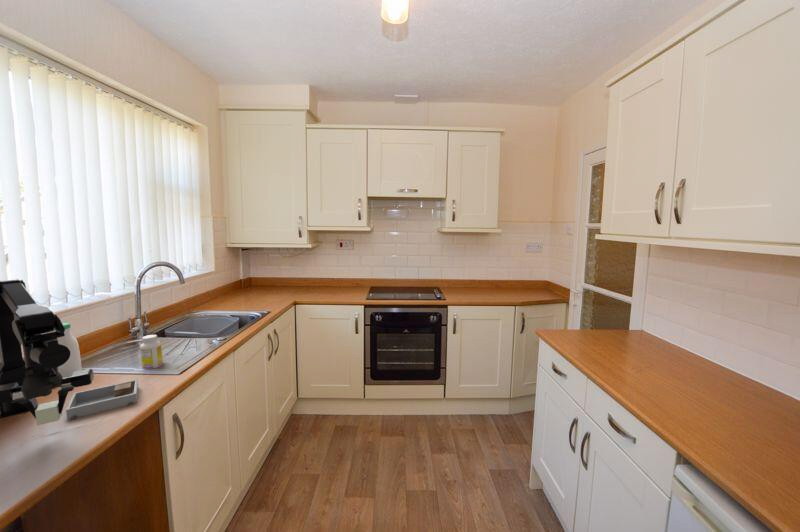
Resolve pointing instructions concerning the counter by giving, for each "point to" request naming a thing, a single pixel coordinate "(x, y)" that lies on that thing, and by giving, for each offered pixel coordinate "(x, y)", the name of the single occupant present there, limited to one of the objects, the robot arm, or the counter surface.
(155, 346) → the supplement bottle
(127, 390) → the walnut block
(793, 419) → the counter surface
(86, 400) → the grey shallow tray
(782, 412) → the counter surface
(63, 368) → the milk bottle
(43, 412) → the sage block
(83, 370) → the robot arm
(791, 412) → the counter surface
